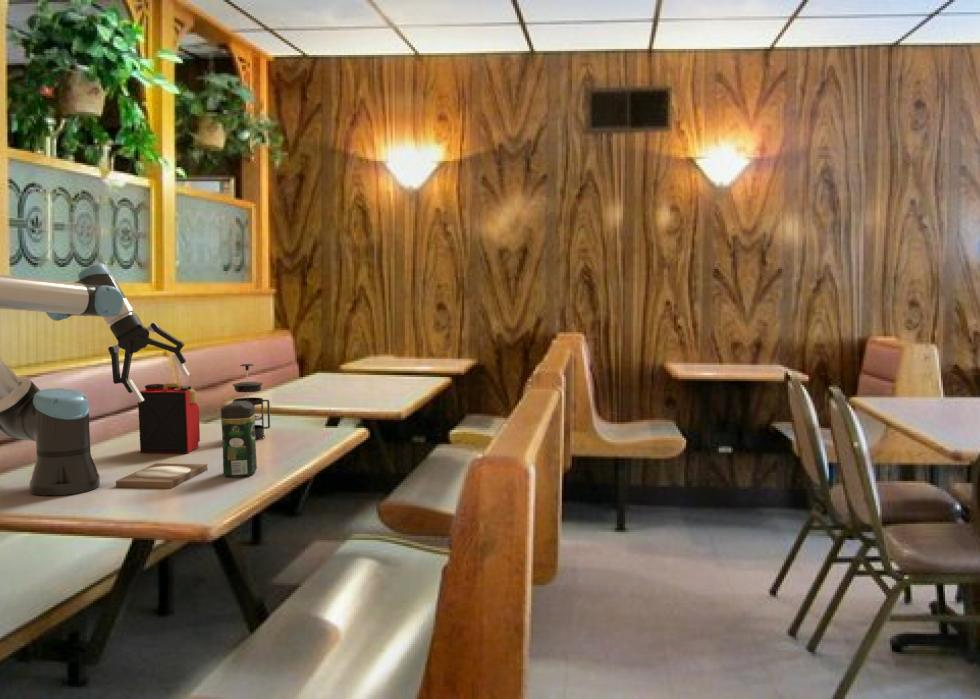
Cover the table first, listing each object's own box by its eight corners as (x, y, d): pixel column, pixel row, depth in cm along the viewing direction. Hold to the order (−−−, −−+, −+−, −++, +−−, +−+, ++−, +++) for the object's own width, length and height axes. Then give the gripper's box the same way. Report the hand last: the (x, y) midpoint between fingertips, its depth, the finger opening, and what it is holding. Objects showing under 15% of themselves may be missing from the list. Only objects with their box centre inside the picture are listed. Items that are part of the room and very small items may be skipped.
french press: (227, 440, 277) (225, 365, 275) (235, 435, 286) (233, 362, 284) (266, 440, 277) (264, 365, 275) (273, 434, 286) (271, 362, 284)
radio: (203, 447, 267) (201, 379, 265) (188, 454, 257) (186, 383, 255) (152, 446, 269) (149, 379, 267) (135, 453, 259) (132, 383, 257)
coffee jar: (228, 470, 236) (226, 399, 234) (259, 469, 236) (257, 398, 235) (219, 478, 226) (217, 404, 225) (251, 477, 227) (249, 404, 225)
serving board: (171, 488, 216) (171, 481, 216) (115, 487, 218) (115, 480, 218) (207, 469, 236) (207, 463, 236) (156, 468, 238) (156, 462, 238)
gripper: (167, 295, 243) (209, 363, 246) (83, 342, 242) (126, 410, 244) (160, 295, 236) (203, 366, 238) (74, 343, 234) (118, 414, 237)
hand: (165, 388), depth 241 cm, fingers open, 13 cm apart
